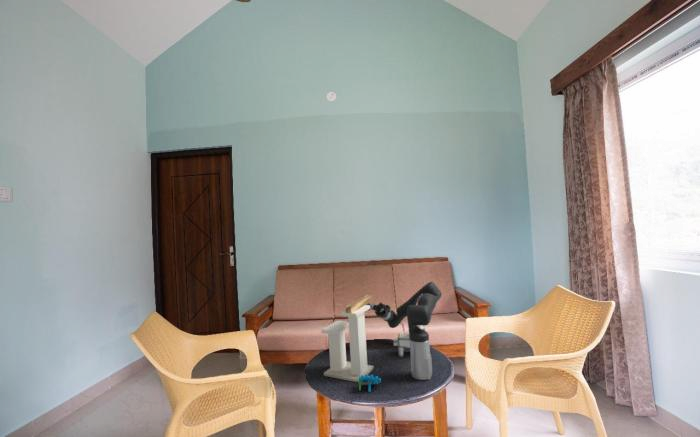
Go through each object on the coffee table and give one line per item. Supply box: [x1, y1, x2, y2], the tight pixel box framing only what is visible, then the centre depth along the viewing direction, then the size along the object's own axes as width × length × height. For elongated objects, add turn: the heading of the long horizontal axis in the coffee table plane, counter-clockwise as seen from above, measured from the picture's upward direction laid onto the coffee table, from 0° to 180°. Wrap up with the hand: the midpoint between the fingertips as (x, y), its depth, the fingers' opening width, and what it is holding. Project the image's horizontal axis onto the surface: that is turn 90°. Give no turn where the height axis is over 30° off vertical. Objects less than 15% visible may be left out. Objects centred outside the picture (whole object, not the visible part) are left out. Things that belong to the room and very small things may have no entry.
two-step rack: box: [321, 305, 375, 384], centre depth 155 cm, size 20×16×32 cm
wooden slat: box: [345, 294, 373, 313], centre depth 157 cm, size 3×25×3 cm, turn 152°
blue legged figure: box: [356, 374, 382, 393], centre depth 136 cm, size 11×6×10 cm
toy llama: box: [393, 325, 426, 358], centre depth 172 cm, size 8×18×20 cm, turn 78°
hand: (373, 303), depth 171 cm, fingers open, 8 cm apart
